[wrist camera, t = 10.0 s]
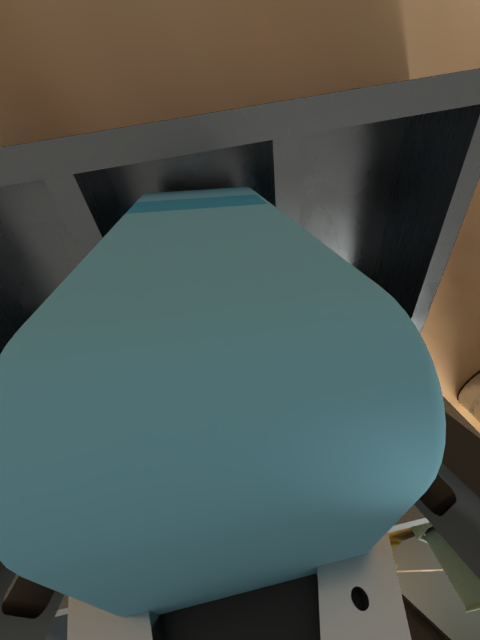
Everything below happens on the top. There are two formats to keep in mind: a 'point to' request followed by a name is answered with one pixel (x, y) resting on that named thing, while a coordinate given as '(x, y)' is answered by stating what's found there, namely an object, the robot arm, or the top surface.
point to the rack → (262, 188)
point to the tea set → (452, 566)
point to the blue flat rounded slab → (209, 411)
